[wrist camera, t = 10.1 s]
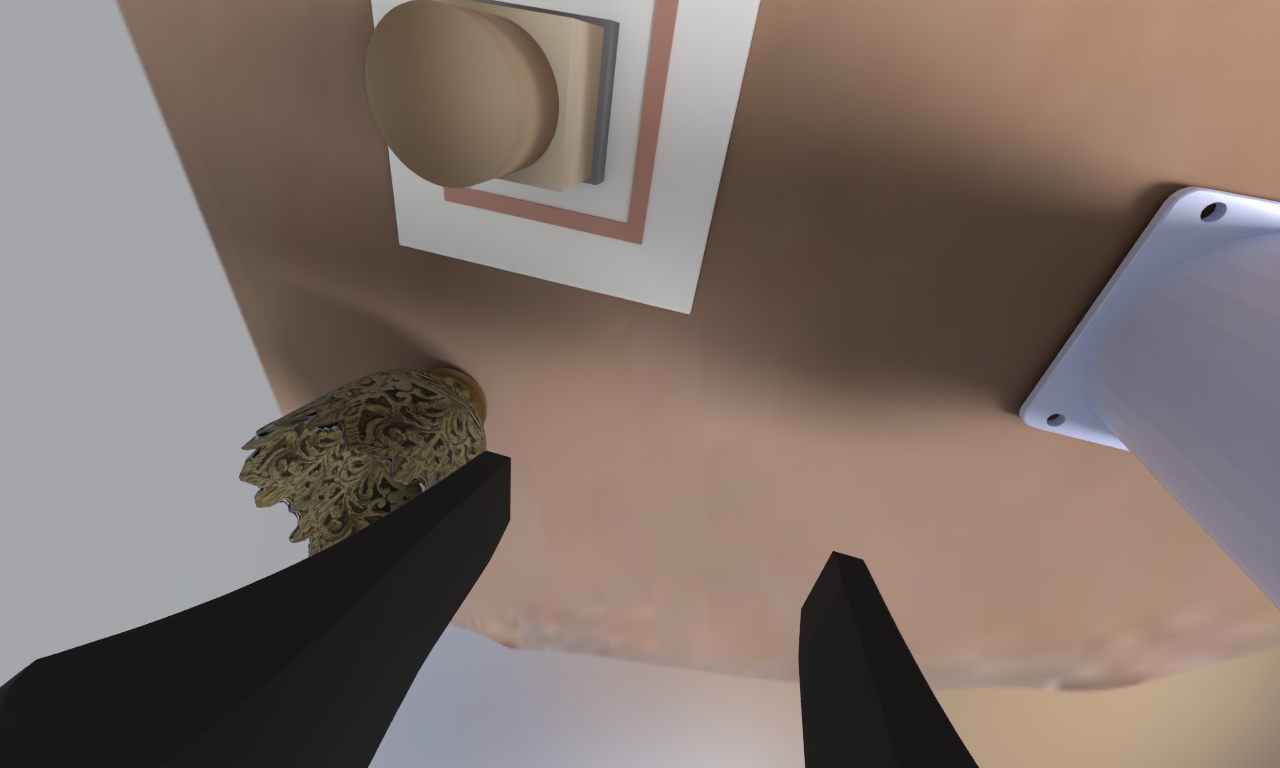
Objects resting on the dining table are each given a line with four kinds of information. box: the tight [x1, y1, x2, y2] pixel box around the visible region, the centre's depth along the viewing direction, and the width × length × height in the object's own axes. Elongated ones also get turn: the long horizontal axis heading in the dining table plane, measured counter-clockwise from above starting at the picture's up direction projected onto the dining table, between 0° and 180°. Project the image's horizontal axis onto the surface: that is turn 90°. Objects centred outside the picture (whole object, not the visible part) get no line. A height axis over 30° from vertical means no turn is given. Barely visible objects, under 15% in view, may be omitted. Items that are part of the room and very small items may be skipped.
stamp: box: [364, 0, 620, 192], centre depth 14 cm, size 4×4×6 cm
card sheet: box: [371, 0, 761, 315], centre depth 16 cm, size 12×12×1 cm
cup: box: [239, 368, 487, 557], centre depth 21 cm, size 8×7×8 cm
